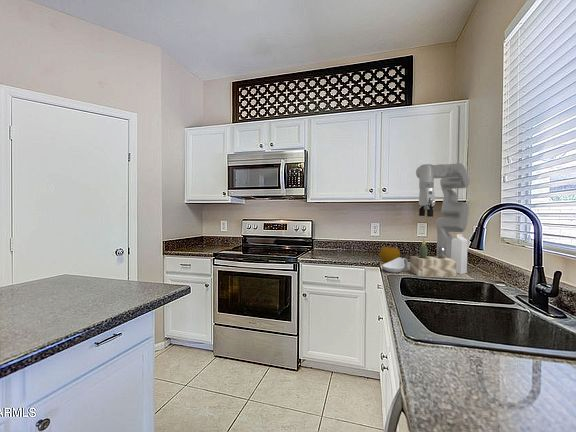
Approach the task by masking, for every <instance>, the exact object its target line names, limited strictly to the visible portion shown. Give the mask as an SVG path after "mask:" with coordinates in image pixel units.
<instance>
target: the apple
mask: <svg viewBox="0 0 576 432" xmlns="http://www.w3.org/2000/svg"><path fill="white" fill-rule="evenodd" d="M378 255H379V258H380V260H381V262H382V264H385V263H387V262H390V261H392V260H394V259H396V258H399V257H400V258H401V251H400V250H399V249H398V248H397V247H394V246H383V247H381V248H380V249H379V254H378Z"/></svg>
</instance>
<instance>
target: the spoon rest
mask: <svg viewBox="0 0 576 432" xmlns="http://www.w3.org/2000/svg"><path fill="white" fill-rule="evenodd" d="M408 261H409V260H408V259H407V258H406V257H401V256H400V257H399V258H396V259H394V260H392V261H390V262H387V263H385V264H384V263H382V264H381V266H382V268H383V269H384V271H386V272H388V273H392V274H397V273H400V272H402V271H403V270H404V269H410V262H408Z"/></svg>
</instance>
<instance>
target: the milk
mask: <svg viewBox="0 0 576 432" xmlns="http://www.w3.org/2000/svg"><path fill="white" fill-rule="evenodd" d="M468 242H469V240H468V239H466V238H465V237H464V235H463V233H458V234H456V237H453V239H452V243H451V258H452V259H455V260H456V274H458V273H460V274H459V275H464V274H467V273H468V249H469V248H468V245H469V243H468Z"/></svg>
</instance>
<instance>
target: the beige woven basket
mask: <svg viewBox="0 0 576 432" xmlns="http://www.w3.org/2000/svg"><path fill="white" fill-rule="evenodd" d="M409 256H410V255H409ZM409 272H410V273H411V274H414V275H415V274H416V275H415V276H417V277H443V276H456V277H457V273H456V260H455V259H452V258H448V257H446V247H438V257H437V256H431V255H430V256H428V255H427V259H423V258H420V257H419V255H411V256H410V262H409Z"/></svg>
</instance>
